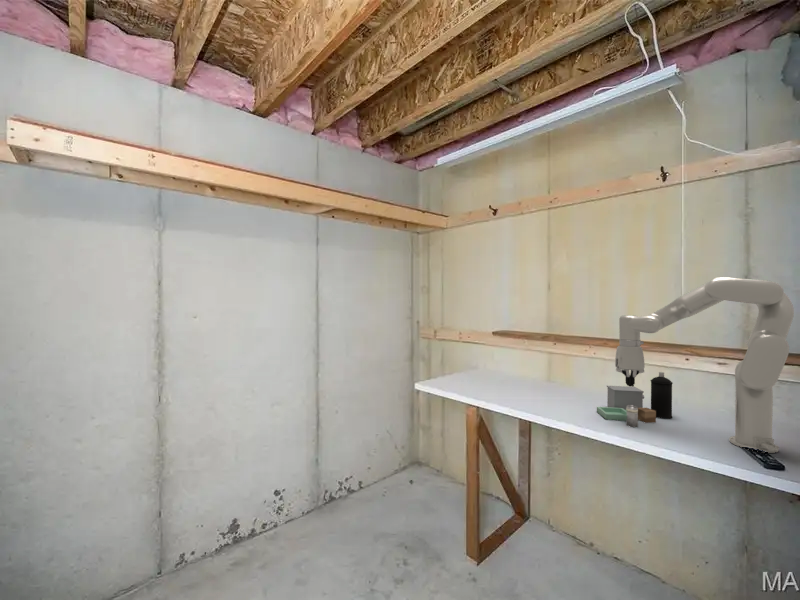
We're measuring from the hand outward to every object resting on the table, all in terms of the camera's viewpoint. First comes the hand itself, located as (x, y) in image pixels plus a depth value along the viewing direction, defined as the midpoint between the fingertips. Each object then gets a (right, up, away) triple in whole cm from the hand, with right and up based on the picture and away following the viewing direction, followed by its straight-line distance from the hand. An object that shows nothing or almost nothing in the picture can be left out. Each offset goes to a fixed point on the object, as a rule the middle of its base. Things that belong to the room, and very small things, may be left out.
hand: (630, 385), depth 151 cm
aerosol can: (+19, -16, +8) cm, 26 cm away
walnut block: (+8, -16, +2) cm, 18 cm away
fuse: (-2, -16, -5) cm, 17 cm away
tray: (-3, -16, +7) cm, 17 cm away
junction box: (+7, -16, +16) cm, 23 cm away
